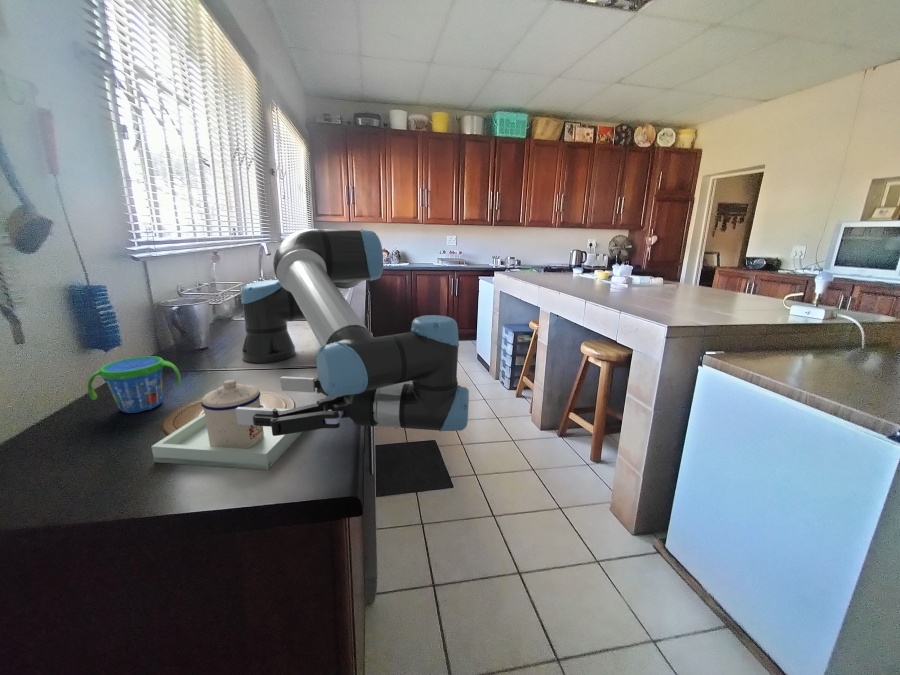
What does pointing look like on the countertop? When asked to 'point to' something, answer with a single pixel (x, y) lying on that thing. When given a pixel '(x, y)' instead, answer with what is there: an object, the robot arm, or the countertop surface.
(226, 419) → the teacup with lid
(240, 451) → the sage tray
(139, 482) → the countertop surface
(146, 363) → the snack cup
